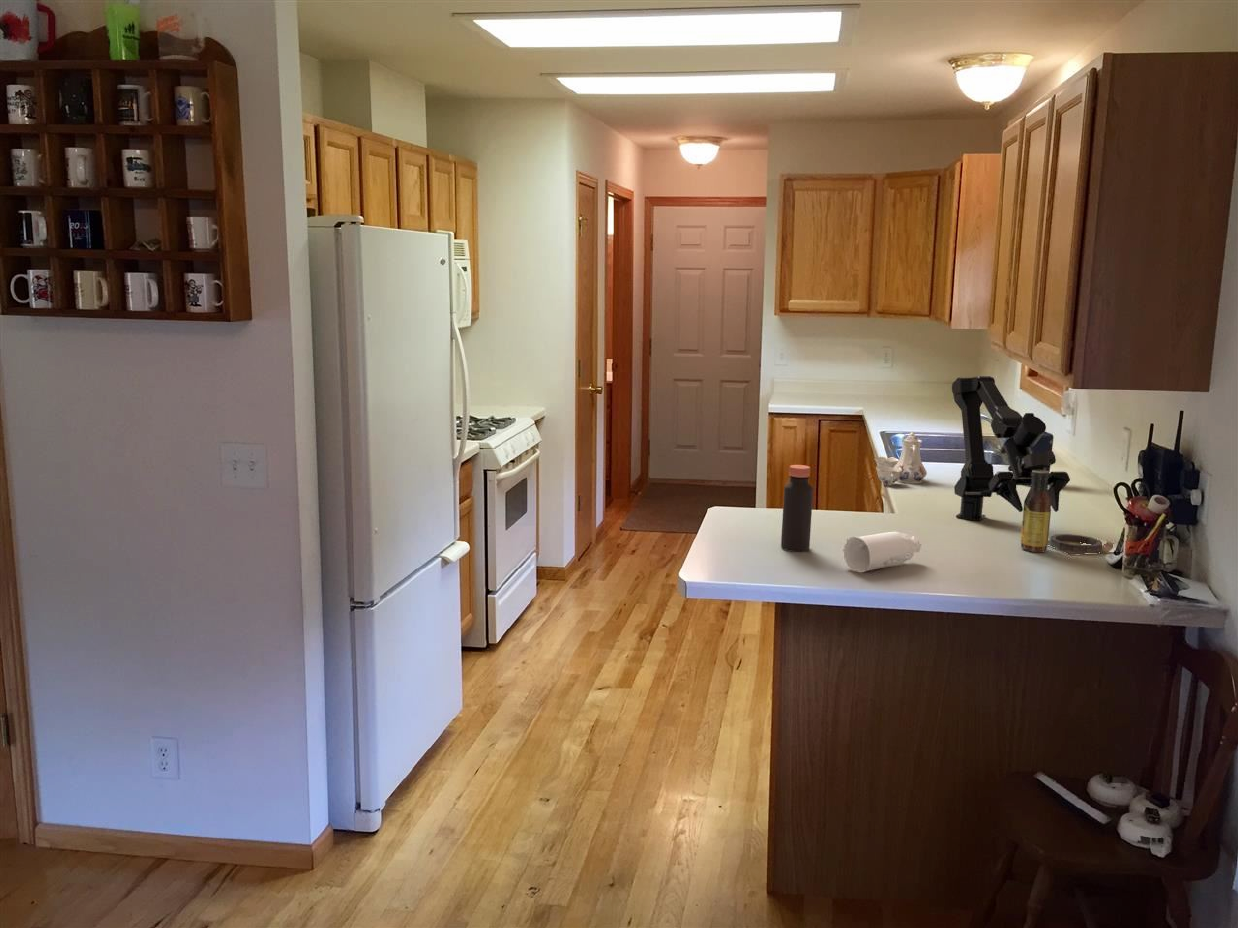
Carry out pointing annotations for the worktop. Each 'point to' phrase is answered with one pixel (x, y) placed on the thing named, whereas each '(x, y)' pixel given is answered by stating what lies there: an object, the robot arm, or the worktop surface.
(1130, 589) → the worktop surface
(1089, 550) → the cup bracket
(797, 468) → the vinegar
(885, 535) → the white bottle
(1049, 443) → the candle
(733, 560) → the worktop surface
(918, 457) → the chinaware
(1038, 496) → the sauce bottle
